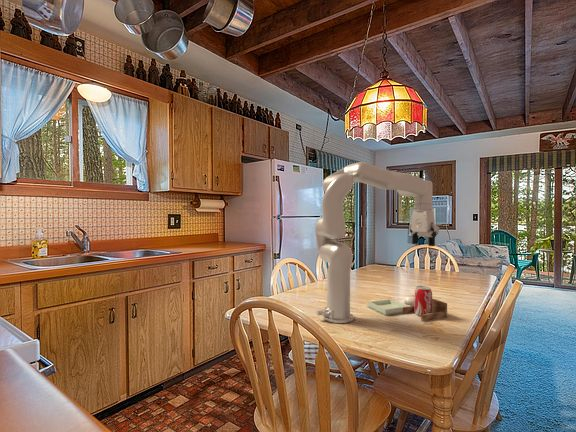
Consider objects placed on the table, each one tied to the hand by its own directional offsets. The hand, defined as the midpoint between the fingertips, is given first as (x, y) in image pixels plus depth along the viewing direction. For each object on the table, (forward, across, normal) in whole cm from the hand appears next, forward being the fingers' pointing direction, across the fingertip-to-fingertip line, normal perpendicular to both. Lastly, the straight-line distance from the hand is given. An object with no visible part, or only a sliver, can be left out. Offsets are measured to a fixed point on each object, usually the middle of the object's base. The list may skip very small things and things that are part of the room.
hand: (423, 244), depth 151 cm
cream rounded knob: (+29, -7, 0) cm, 30 cm away
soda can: (+29, +8, -8) cm, 31 cm away
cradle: (+29, +8, -8) cm, 31 cm away
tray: (+29, -4, -17) cm, 34 cm away
